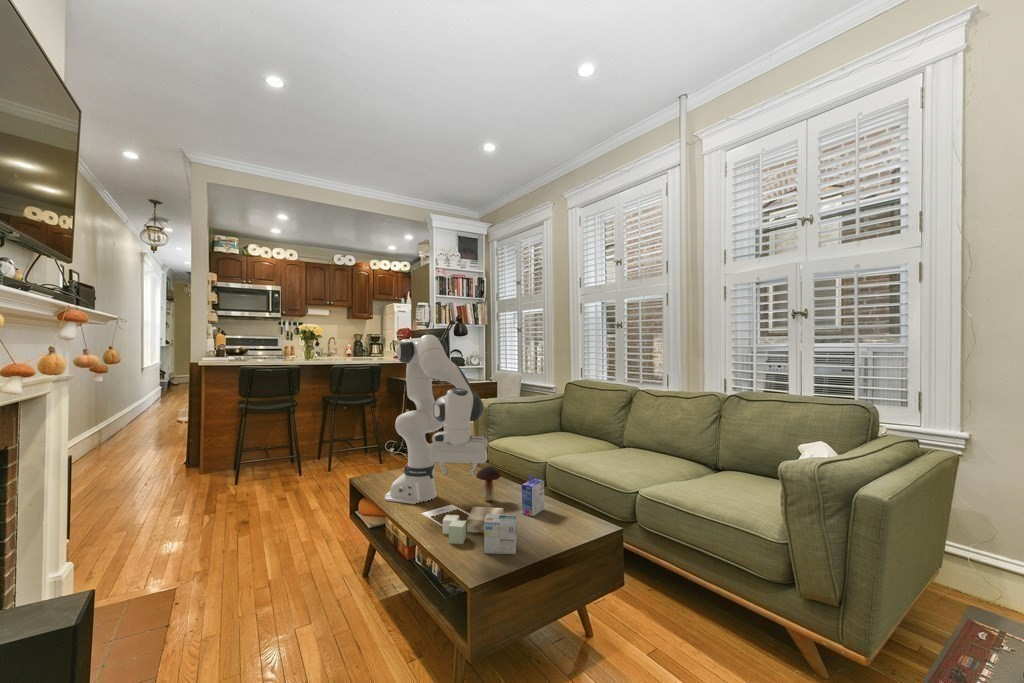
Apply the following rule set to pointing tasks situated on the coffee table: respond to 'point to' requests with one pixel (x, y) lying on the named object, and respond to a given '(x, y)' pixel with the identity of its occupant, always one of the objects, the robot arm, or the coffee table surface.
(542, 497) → the ink cartridge box
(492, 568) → the coffee table surface
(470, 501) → the coffee table surface
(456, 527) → the sage block
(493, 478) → the decorative mushroom
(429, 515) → the photo frame
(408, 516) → the coffee table surface
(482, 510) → the birch block
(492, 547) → the light bulb box
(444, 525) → the off-white block
